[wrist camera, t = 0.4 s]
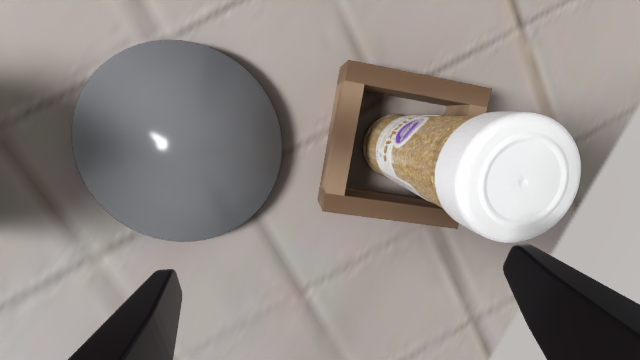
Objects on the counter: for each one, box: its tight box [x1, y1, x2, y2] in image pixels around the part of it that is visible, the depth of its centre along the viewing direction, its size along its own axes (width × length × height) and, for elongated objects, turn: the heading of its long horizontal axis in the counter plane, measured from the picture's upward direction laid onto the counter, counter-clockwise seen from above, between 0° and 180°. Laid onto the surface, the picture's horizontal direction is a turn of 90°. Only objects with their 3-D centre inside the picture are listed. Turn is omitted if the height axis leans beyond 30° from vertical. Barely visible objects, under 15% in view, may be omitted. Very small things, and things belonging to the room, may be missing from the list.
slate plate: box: [72, 40, 282, 242], centre depth 22 cm, size 13×13×1 cm
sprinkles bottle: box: [363, 111, 581, 243], centre depth 17 cm, size 5×5×14 cm
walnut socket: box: [318, 60, 492, 229], centre depth 22 cm, size 9×9×3 cm
